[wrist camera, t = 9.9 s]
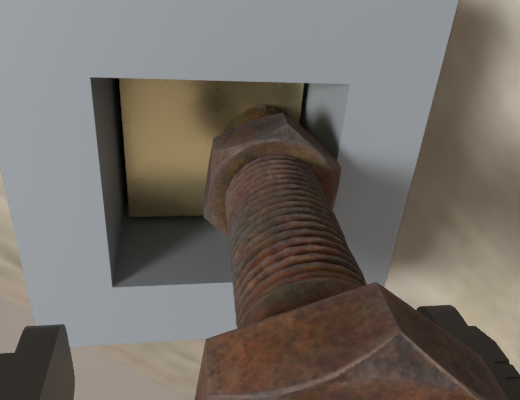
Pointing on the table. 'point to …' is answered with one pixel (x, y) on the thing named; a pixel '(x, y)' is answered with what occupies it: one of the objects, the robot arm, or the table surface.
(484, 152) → the table surface
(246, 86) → the beige square tile
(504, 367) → the robot arm
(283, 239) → the bolt
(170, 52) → the socket block
